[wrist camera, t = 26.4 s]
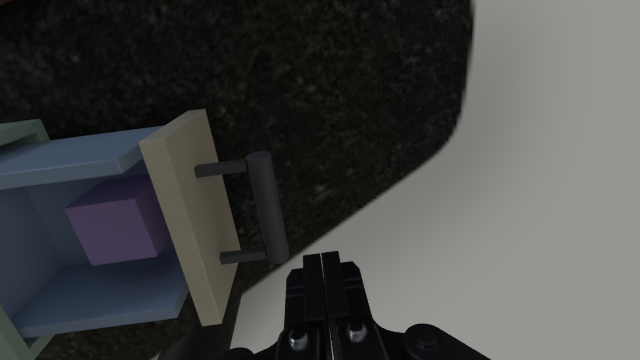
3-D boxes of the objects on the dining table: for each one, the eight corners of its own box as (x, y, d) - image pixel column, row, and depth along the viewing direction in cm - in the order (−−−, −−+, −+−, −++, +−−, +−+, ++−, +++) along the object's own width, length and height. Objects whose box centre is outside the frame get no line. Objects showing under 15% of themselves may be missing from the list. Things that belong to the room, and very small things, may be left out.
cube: (179, 223, 24) (157, 257, 20) (123, 231, 24) (91, 266, 20) (161, 172, 22) (134, 198, 19) (102, 180, 22) (63, 208, 18)
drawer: (269, 100, 22) (257, 126, 15) (295, 244, 26) (293, 314, 20) (0, 135, 22) (-133, 177, 15) (71, 274, 26) (-7, 355, 19)
